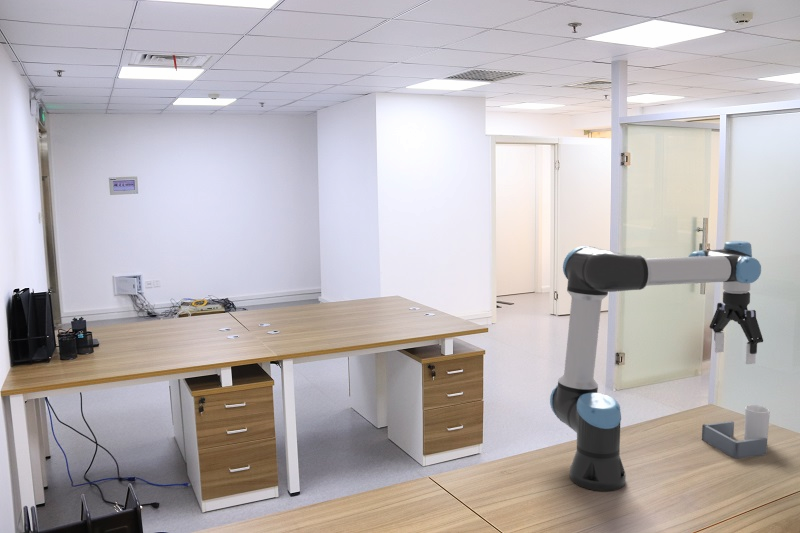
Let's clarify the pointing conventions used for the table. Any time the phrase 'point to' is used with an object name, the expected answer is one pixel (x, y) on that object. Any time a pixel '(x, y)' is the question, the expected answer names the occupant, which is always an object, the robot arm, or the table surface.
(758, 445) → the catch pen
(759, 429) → the mug
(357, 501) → the table surface
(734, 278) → the robot arm
